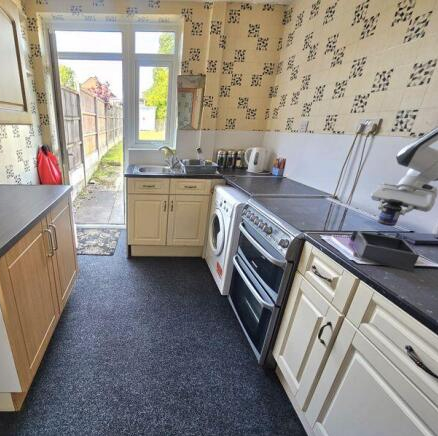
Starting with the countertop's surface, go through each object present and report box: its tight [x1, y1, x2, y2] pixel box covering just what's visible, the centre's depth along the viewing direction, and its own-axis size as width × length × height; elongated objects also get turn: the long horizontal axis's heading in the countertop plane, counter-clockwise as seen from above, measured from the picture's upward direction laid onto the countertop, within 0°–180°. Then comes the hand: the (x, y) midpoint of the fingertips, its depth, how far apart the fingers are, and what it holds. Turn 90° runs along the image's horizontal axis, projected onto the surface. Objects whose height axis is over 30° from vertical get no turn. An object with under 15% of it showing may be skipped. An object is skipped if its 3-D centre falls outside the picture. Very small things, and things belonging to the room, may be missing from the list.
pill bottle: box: [377, 199, 403, 227], centre depth 109 cm, size 6×6×11 cm
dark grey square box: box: [352, 230, 420, 272], centre depth 89 cm, size 14×14×7 cm
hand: (390, 211), depth 109 cm, fingers closed on pill bottle, 6 cm apart
